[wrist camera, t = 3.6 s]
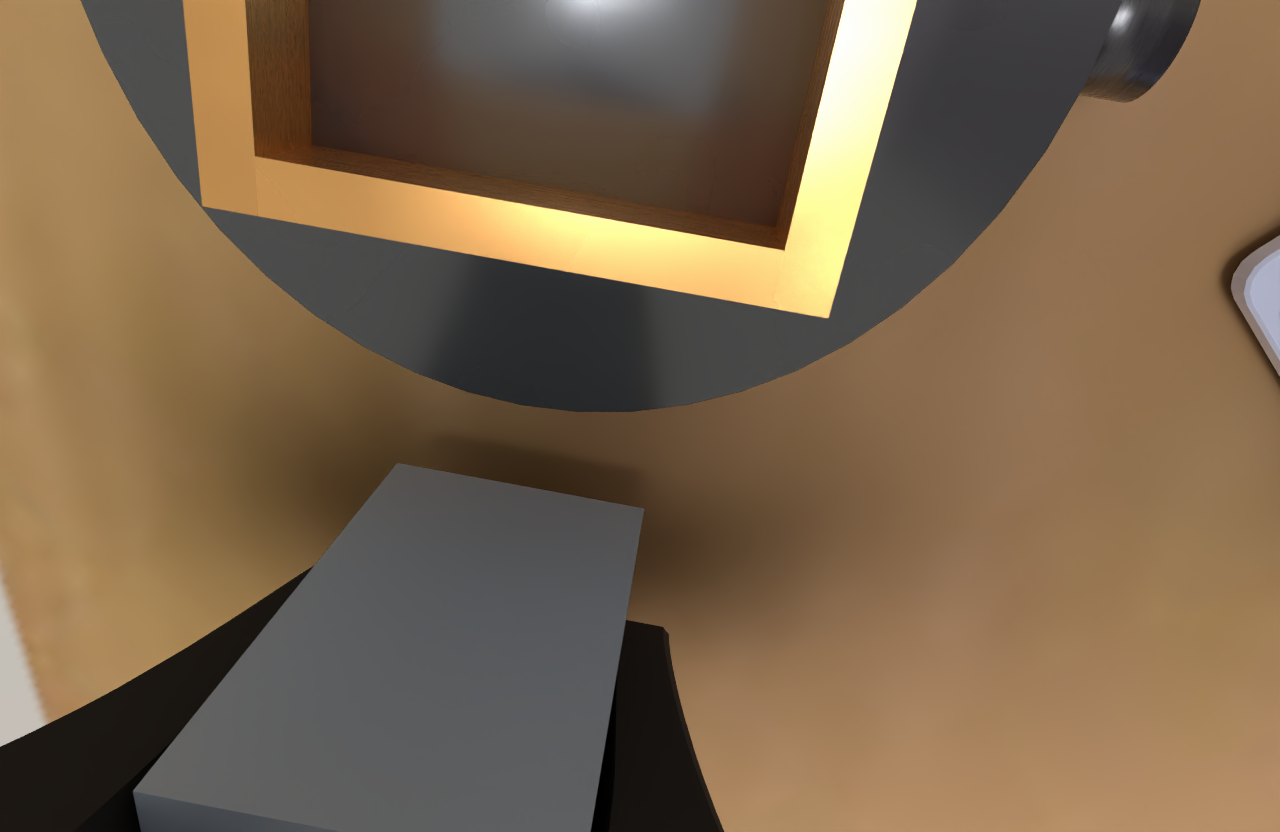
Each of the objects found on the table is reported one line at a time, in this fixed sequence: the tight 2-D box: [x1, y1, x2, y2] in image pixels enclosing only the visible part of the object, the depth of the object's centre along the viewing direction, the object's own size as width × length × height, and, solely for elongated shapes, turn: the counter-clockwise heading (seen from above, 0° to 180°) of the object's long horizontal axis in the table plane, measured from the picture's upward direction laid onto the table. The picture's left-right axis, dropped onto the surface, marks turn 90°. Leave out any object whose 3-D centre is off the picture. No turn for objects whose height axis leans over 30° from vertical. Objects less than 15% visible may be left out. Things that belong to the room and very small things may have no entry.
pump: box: [133, 463, 644, 832], centre depth 10 cm, size 4×5×7 cm
